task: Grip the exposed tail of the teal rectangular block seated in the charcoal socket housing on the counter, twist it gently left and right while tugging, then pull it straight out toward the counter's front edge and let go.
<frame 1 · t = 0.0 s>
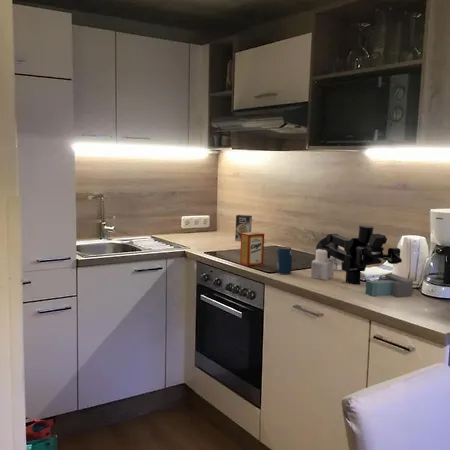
hand: (391, 261, 208), 15 cm above the counter, tool horizontal, fingers open, 9 cm apart
container: (322, 277, 247), on the counter, touching arm
beer glass: (335, 269, 266), on the counter
header: (394, 295, 218), on the counter
soda can: (283, 273, 254), on the counter
baking soda box: (251, 264, 272), on the counter
coffee box: (243, 240, 346), on the counter
teal rectangular block: (384, 287, 216), point 4 cm above the counter, slide at 0.0 cm
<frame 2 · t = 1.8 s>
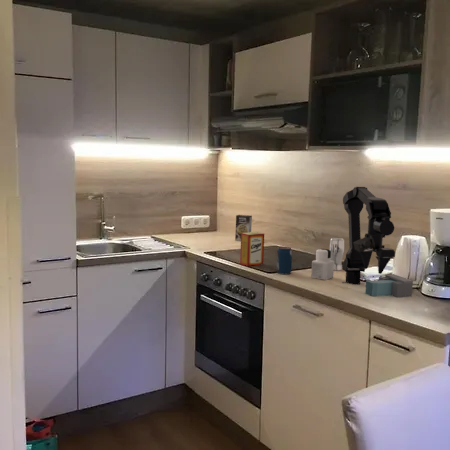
hand: (372, 271, 213), 11 cm above the counter, tool pointing down, fingers open, 9 cm apart
container: (322, 278, 247), on the counter
everything else where it was.
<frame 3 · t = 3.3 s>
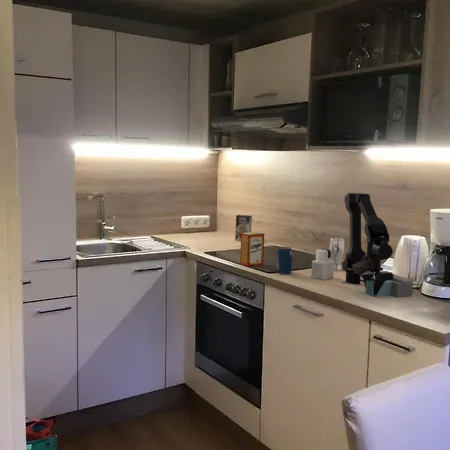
hand: (371, 293, 214), 2 cm above the counter, tool pointing down, fingers closed on teal rectangular block, 5 cm apart
teal rectangular block: (384, 287, 216), point 4 cm above the counter, slide at 0.0 cm, touching gripper
everything else where it was.
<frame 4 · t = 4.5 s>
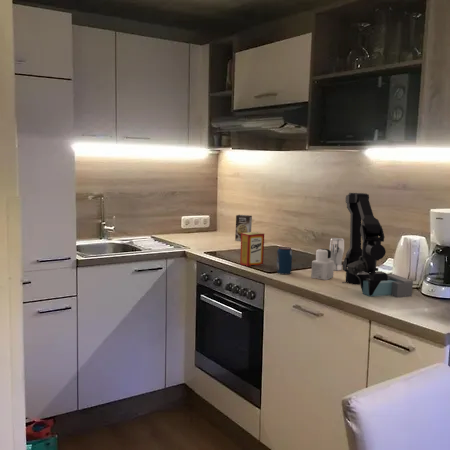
hand: (367, 293, 213), 2 cm above the counter, tool pointing down, fingers closed on teal rectangular block, 5 cm apart
teal rectangular block: (381, 287, 215), point 4 cm above the counter, slide at 1.3 cm, touching gripper
everything else where it was.
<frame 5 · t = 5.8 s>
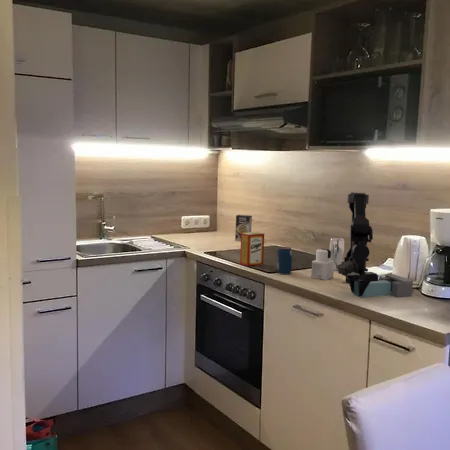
hand: (356, 294, 212), 2 cm above the counter, tool pointing down, fingers closed on teal rectangular block, 5 cm apart
teal rectangular block: (372, 288, 214), point 4 cm above the counter, slide at 5.5 cm, touching gripper
everything else where it was.
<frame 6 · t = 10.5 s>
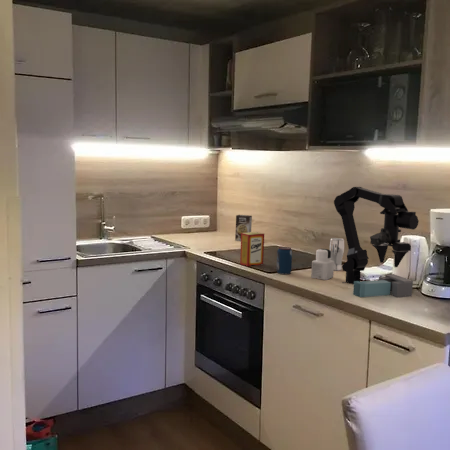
hand: (388, 264, 219), 12 cm above the counter, tool pointing down, fingers open, 9 cm apart
teal rectangular block: (372, 288, 214), point 4 cm above the counter, slide at 5.6 cm
everything else where it was.
at the end: teal rectangular block slide at 5.6 cm; the gripper is holding nothing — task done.
